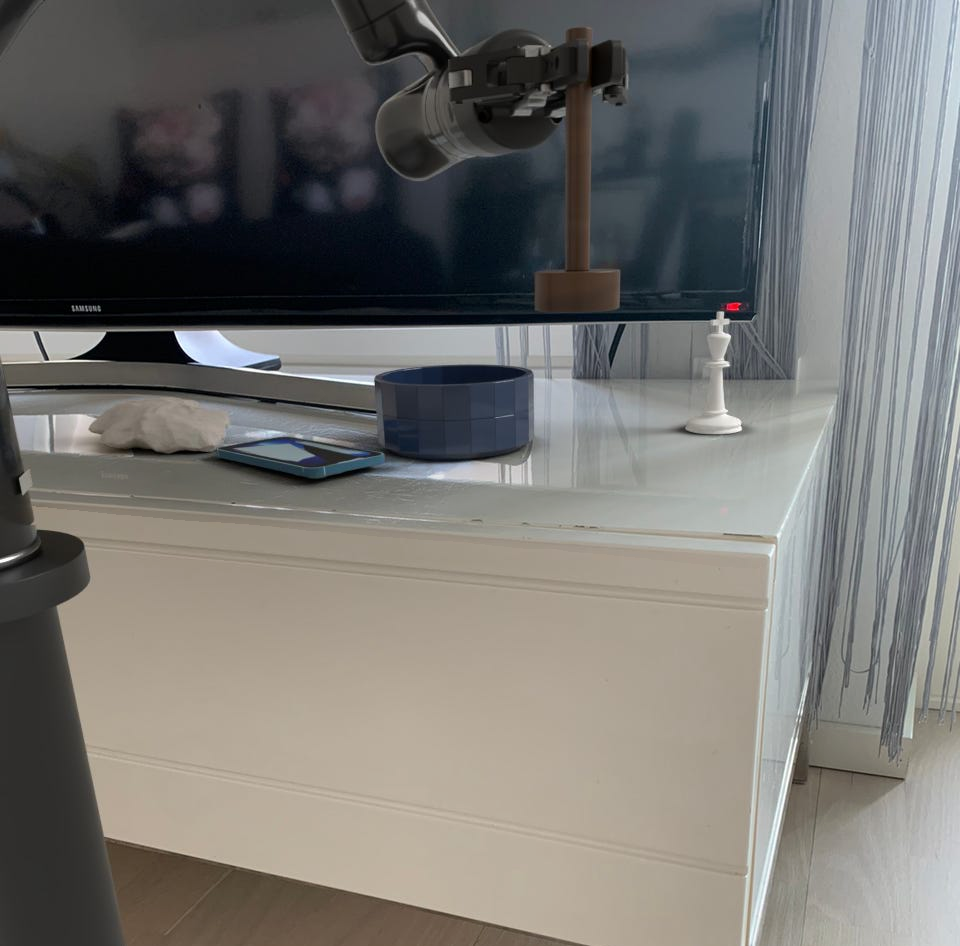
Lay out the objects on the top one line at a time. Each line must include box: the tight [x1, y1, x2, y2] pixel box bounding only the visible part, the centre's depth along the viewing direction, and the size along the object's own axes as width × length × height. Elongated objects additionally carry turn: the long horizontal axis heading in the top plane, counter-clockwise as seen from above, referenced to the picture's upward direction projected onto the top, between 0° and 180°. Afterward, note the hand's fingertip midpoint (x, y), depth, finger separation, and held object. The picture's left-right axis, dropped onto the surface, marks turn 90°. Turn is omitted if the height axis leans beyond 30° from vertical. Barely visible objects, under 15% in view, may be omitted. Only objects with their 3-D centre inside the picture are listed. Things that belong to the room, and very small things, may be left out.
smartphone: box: [215, 436, 386, 480], centre depth 79 cm, size 7×1×15 cm
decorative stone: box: [88, 396, 231, 454], centre depth 89 cm, size 11×4×15 cm
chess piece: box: [684, 311, 743, 435], centre depth 86 cm, size 5×5×10 cm
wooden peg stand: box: [533, 26, 621, 314], centre depth 62 cm, size 6×6×16 cm
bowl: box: [373, 363, 535, 461], centre depth 83 cm, size 13×13×6 cm
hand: (600, 59), depth 57 cm, fingers closed on wooden peg stand
